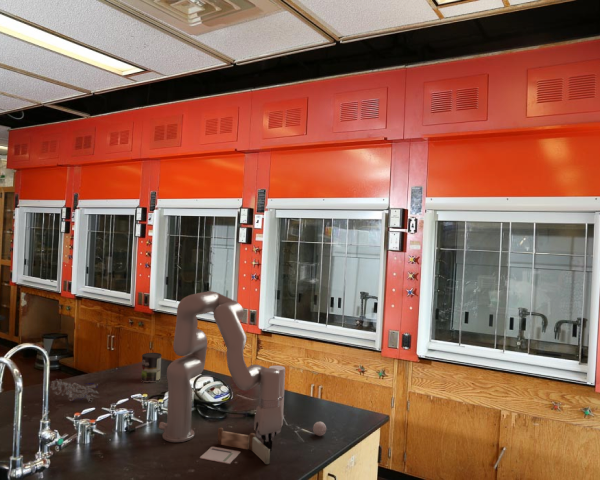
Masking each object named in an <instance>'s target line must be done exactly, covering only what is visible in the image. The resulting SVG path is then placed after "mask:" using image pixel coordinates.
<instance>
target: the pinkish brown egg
mask: <svg viewBox="0 0 600 480" xmlns="http://www.w3.org/2000/svg"><path fill="white" fill-rule="evenodd" d="M312 430H313V431H312V432H313V433H314V434H315V435H316V436H319V437H321V436H324V435H325V434H326V432H327V426H326V424H325V423H324V422H323V421H316V422H315V423H314V424H313V427H312Z"/></svg>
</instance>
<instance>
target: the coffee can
mask: <svg viewBox="0 0 600 480" xmlns="http://www.w3.org/2000/svg"><path fill="white" fill-rule="evenodd" d="M162 356H163V355H162V354H161V353H159V352H146V353H143V354H141V375H140V376H141V377H140V381H141V380H142V381H156V380H159V379H160V380H161V372H162V371H161V366H162ZM142 381H141V382H142Z"/></svg>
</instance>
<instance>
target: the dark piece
mask: <svg viewBox="0 0 600 480" xmlns="http://www.w3.org/2000/svg"><path fill="white" fill-rule="evenodd" d="M62 381H63V380H62V379H60V378H59V379H58V378H55V380H52V381H51V384H50V385H51V386H50V388H51V391H54V392H53V394H54V395H57V396H58V395H59V396H60V394H61V395H65V396H68V400H69V401H70V402H71V401H75V400H76V399H77V400H83V399H86V400H87V401H88V402H89V401H91V402H90V403H93V398H95V399H96V398H98V397H99V398H100V397H101V395H100V396H99V392H98V390H95V388H98V386H99V384H98V383H96V384H95V382H91V383H89V382H88V383H85V386H84V385H81V384H78V383H76V382H73V383H72V384H71V383H69V382H67V381H63V382H62ZM55 385H56V386H55ZM62 388H64V390H63V392H62ZM93 388H94V389H93ZM81 389H82V390H81ZM56 390H58V391H59V392H58V391H56ZM88 394H89V395H88ZM95 394H97V395H95ZM90 399H92V400H90Z"/></svg>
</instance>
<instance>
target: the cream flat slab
mask: <svg viewBox="0 0 600 480" xmlns="http://www.w3.org/2000/svg"><path fill="white" fill-rule="evenodd" d="M252 452H253V453H254V454H255V455H256V457H258V458H259V459H260V460H261V462H263V463H264V464H265V465H269V464H270V455H271V453H270V452H271V451H270V449H268V448H267V447H266V446H265V445H264V444H263V442H261V440H259V438H257V437H253V440H252Z"/></svg>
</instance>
